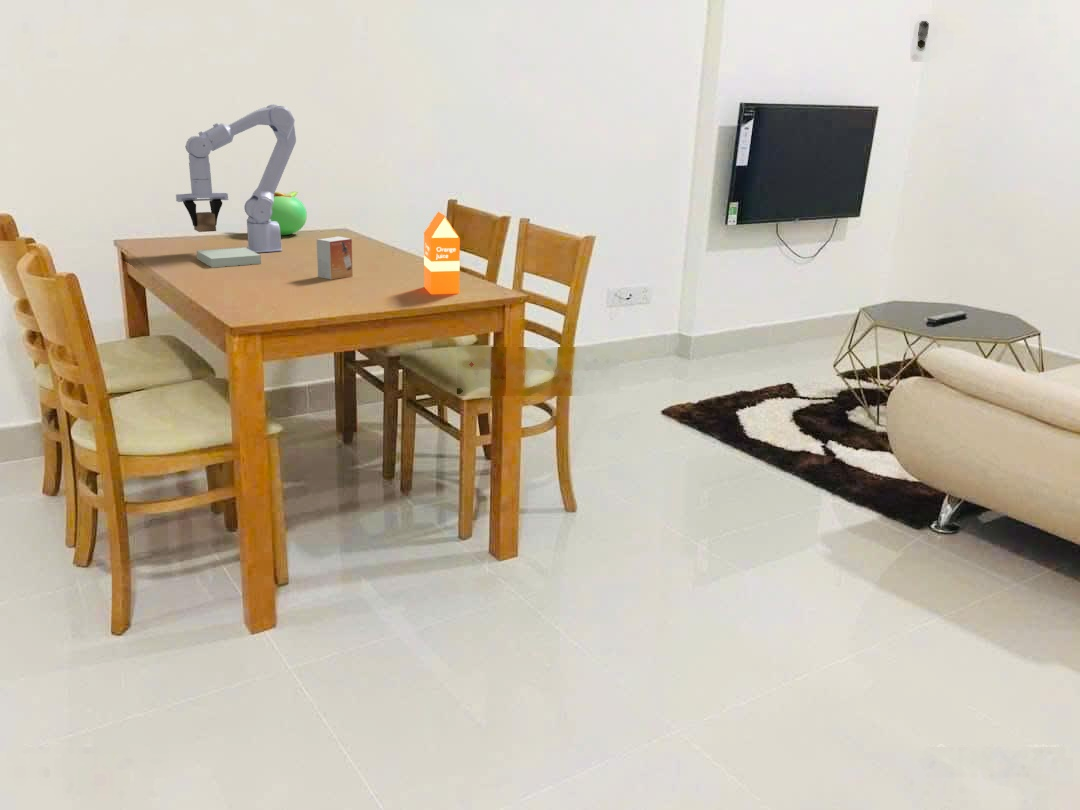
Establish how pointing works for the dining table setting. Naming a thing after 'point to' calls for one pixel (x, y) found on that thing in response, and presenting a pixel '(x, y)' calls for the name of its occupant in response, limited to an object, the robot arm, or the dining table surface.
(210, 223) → the walnut cube
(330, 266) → the small box
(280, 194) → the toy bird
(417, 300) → the dining table surface
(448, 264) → the orange juice
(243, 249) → the base
